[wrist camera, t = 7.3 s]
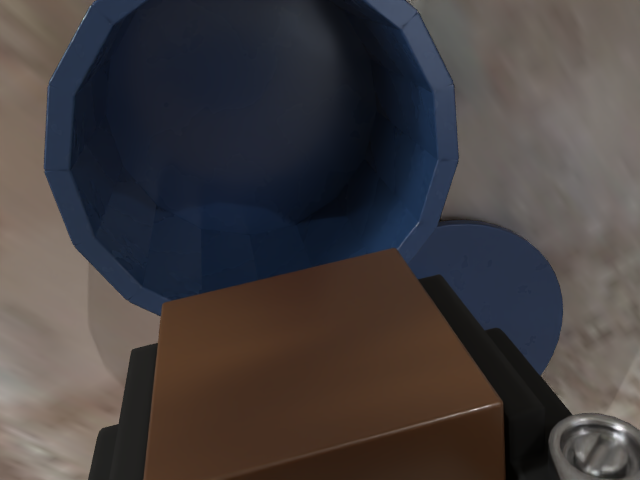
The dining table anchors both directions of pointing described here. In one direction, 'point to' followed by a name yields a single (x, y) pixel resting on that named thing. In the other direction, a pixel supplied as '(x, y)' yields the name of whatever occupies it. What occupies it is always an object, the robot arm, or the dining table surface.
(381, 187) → the pot
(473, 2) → the dining table surface
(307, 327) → the block
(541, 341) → the lid
